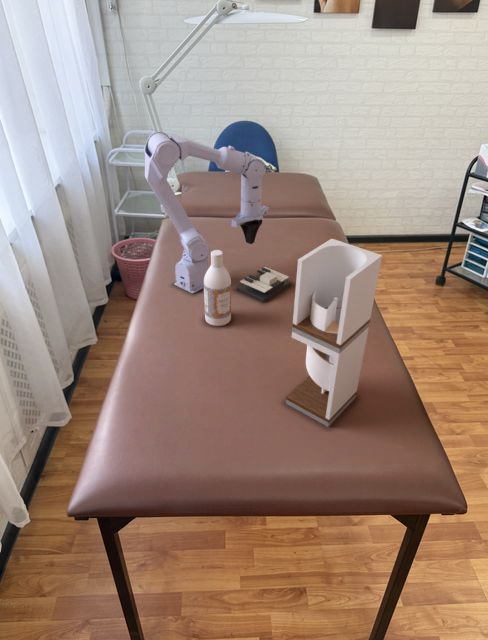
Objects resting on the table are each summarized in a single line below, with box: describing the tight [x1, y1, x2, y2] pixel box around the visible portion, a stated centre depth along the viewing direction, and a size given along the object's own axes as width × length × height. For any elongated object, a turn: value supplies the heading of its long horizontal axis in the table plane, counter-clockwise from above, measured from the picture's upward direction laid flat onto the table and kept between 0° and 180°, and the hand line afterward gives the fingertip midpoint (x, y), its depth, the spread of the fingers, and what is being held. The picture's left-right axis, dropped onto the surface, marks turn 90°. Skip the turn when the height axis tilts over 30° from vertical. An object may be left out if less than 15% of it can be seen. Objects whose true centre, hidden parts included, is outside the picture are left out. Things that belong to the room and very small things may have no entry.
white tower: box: [285, 238, 383, 428], centre depth 101 cm, size 11×11×35 cm
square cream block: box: [260, 272, 277, 286], centre depth 147 cm, size 4×4×2 cm
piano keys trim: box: [239, 266, 290, 293], centre depth 147 cm, size 9×12×1 cm
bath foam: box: [203, 249, 232, 327], centre depth 130 cm, size 7×7×20 cm
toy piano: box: [236, 273, 292, 304], centre depth 149 cm, size 10×13×3 cm
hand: (249, 242), depth 151 cm, fingers closed
